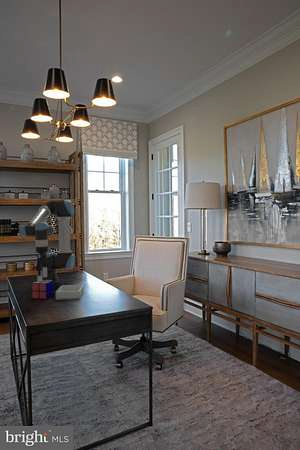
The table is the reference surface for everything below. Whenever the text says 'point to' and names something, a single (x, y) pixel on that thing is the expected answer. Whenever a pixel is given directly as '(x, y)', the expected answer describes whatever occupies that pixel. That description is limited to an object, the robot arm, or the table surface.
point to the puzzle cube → (43, 289)
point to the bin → (69, 292)
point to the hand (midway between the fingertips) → (42, 278)
